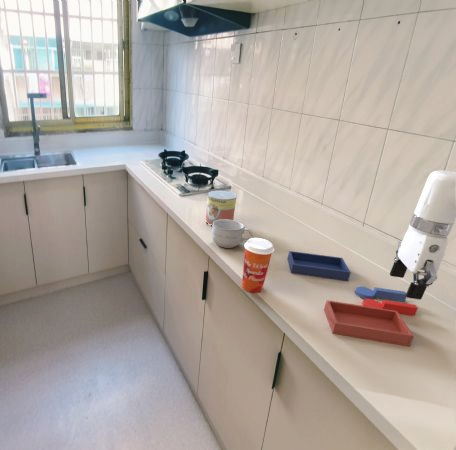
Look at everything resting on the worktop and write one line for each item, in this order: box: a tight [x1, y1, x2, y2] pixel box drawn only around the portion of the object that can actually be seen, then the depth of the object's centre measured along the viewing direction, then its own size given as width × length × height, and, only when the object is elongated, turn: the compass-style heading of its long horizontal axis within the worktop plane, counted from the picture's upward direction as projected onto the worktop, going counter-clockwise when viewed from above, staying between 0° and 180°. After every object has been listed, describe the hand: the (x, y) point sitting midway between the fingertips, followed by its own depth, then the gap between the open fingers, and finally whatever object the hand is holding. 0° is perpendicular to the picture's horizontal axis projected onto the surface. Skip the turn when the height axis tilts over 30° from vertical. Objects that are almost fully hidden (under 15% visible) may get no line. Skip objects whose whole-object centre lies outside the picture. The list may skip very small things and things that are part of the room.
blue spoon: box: [354, 285, 407, 303], centre depth 93 cm, size 12×5×2 cm, turn 77°
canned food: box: [205, 189, 238, 225], centre depth 136 cm, size 11×11×12 cm
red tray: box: [323, 299, 415, 347], centre depth 81 cm, size 16×9×3 cm, turn 77°
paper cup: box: [241, 237, 275, 294], centre depth 93 cm, size 8×8×14 cm
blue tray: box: [287, 250, 352, 282], centre depth 106 cm, size 16×9×3 cm, turn 77°
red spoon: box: [361, 298, 419, 317], centre depth 88 cm, size 12×5×2 cm, turn 77°
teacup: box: [211, 219, 254, 249], centre depth 118 cm, size 14×11×8 cm
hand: (404, 286), depth 85 cm, fingers open, 9 cm apart
